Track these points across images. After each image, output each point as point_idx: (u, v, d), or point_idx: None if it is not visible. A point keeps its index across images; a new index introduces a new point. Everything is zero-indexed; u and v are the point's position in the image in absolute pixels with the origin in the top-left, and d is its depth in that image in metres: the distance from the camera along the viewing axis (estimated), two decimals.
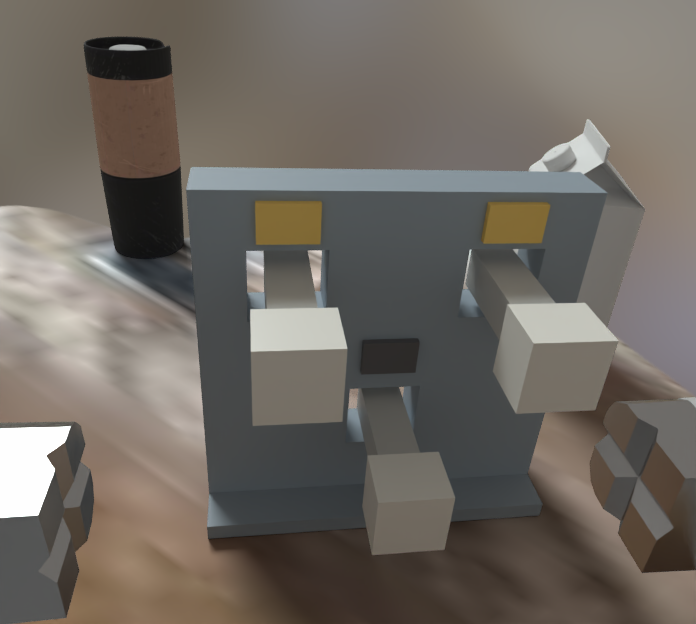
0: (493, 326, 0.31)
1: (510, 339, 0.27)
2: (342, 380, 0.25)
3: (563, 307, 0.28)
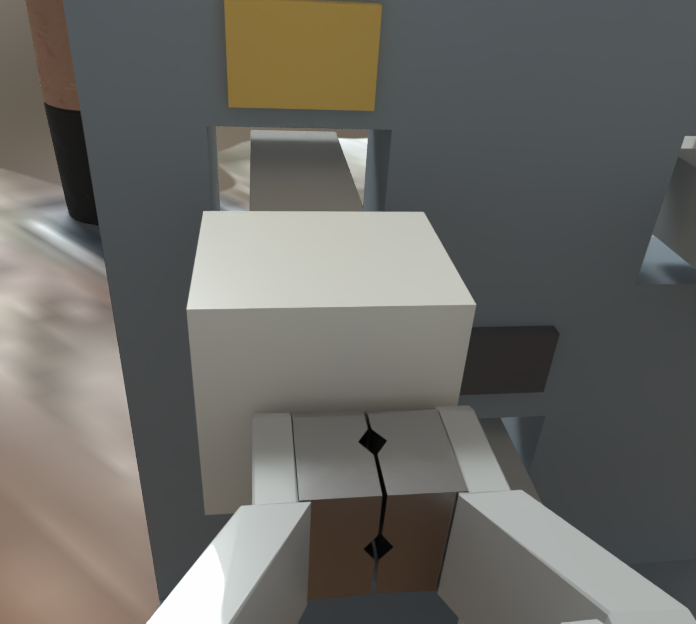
0: None
1: None
2: (451, 398, 0.09)
3: None
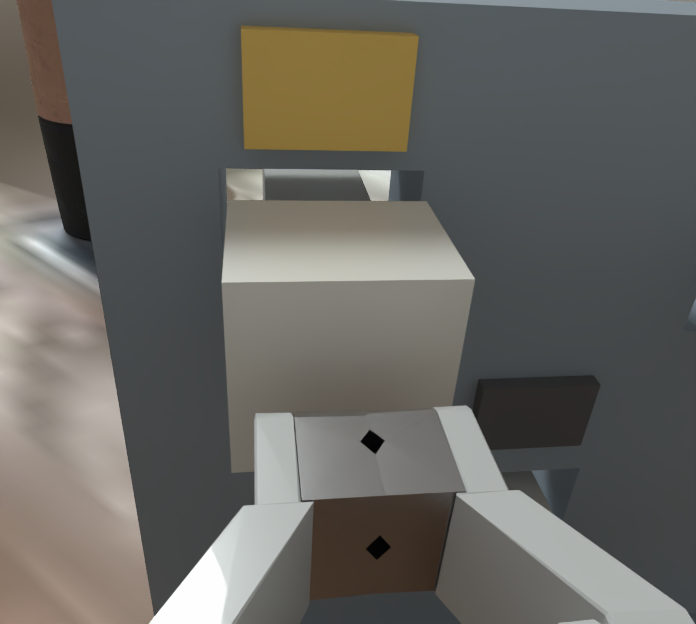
0: None
1: None
2: (452, 364, 0.10)
3: None
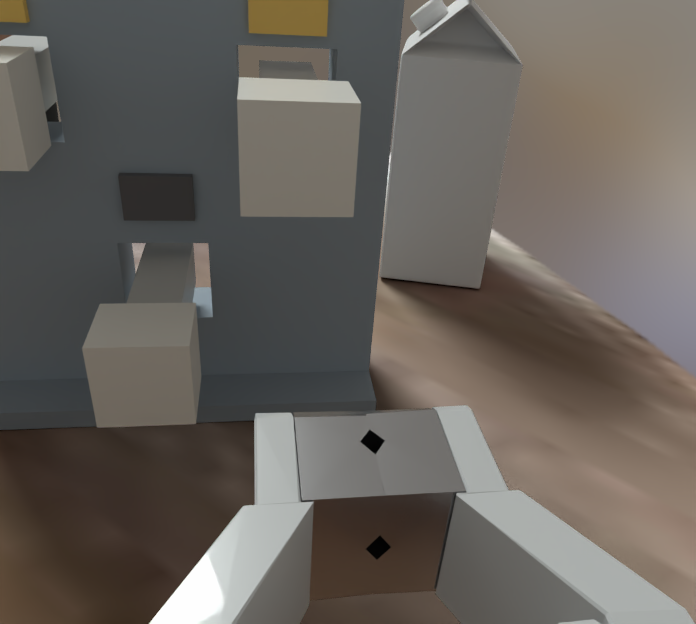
0: None
1: None
2: (12, 110, 0.21)
3: (314, 82, 0.21)
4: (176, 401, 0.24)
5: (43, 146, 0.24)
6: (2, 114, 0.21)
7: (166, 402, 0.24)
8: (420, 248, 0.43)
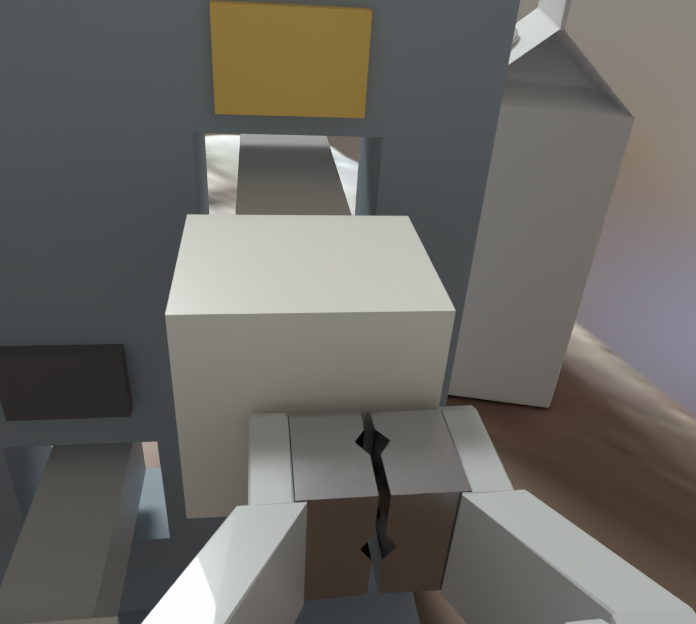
0: None
1: None
2: None
3: (340, 223, 0.10)
4: None
5: None
6: None
7: None
8: (470, 357, 0.32)
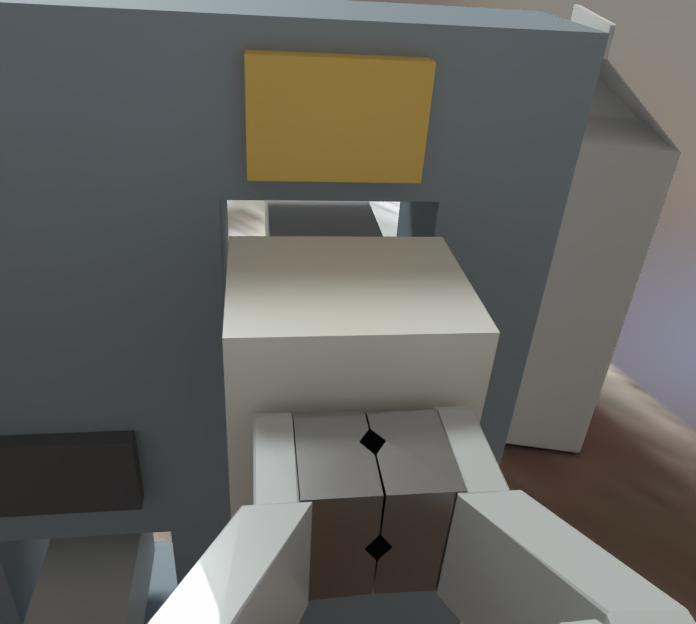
0: None
1: None
2: None
3: (377, 244, 0.11)
4: None
5: None
6: None
7: None
8: None
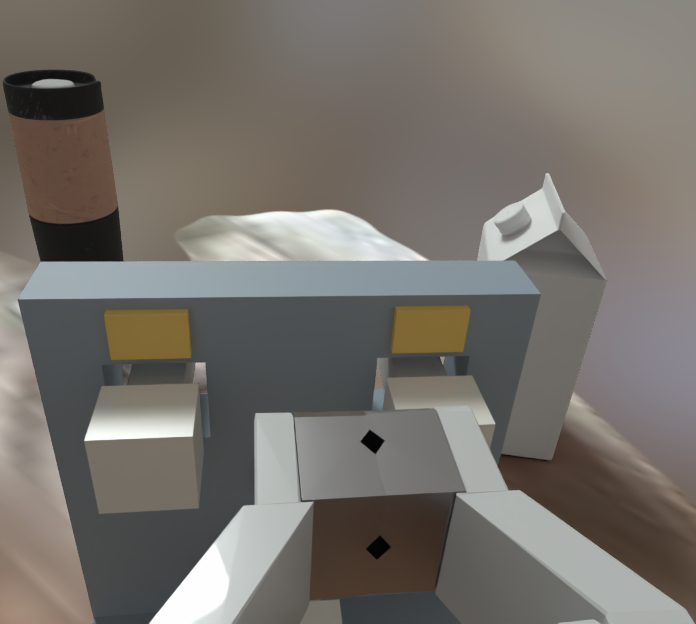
0: None
1: None
2: (191, 468, 0.23)
3: (446, 380, 0.26)
4: None
5: (202, 463, 0.26)
6: (182, 471, 0.23)
7: None
8: None
